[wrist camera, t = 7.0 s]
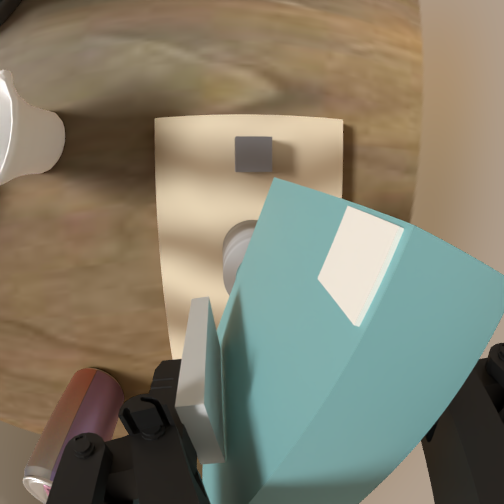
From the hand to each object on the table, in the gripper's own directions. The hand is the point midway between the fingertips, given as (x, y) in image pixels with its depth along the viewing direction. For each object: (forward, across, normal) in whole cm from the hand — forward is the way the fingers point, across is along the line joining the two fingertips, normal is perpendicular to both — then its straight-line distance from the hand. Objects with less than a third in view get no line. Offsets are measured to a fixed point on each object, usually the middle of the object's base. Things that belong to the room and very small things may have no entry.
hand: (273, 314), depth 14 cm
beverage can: (+12, -18, -13) cm, 25 cm away
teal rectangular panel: (+4, 0, 0) cm, 4 cm away
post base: (+12, 0, 0) cm, 12 cm away
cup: (+13, -16, +12) cm, 24 cm away
